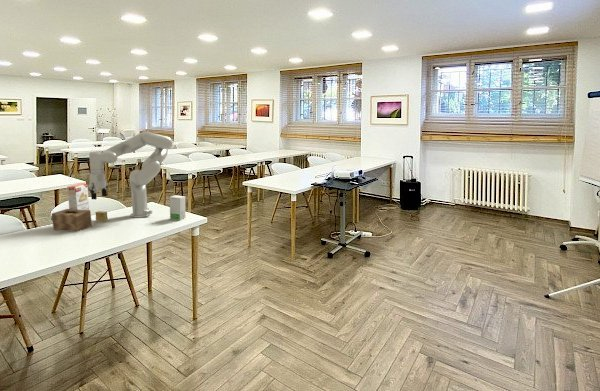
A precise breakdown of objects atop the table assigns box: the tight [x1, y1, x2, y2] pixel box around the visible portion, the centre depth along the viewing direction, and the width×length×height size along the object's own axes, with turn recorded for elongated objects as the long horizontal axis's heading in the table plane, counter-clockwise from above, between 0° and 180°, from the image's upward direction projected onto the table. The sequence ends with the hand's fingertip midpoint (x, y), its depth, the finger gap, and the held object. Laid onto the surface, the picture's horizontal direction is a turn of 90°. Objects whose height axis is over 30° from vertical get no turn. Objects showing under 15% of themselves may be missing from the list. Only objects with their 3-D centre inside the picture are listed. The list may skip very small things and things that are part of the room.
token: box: [95, 210, 109, 223], centre depth 243 cm, size 6×3×6 cm, turn 81°
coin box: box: [51, 208, 93, 233], centre depth 226 cm, size 16×12×10 cm
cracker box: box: [66, 182, 90, 210], centre depth 254 cm, size 14×6×21 cm, turn 179°
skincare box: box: [169, 194, 186, 221], centre depth 250 cm, size 8×7×16 cm
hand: (99, 197), depth 240 cm, fingers open, 9 cm apart
